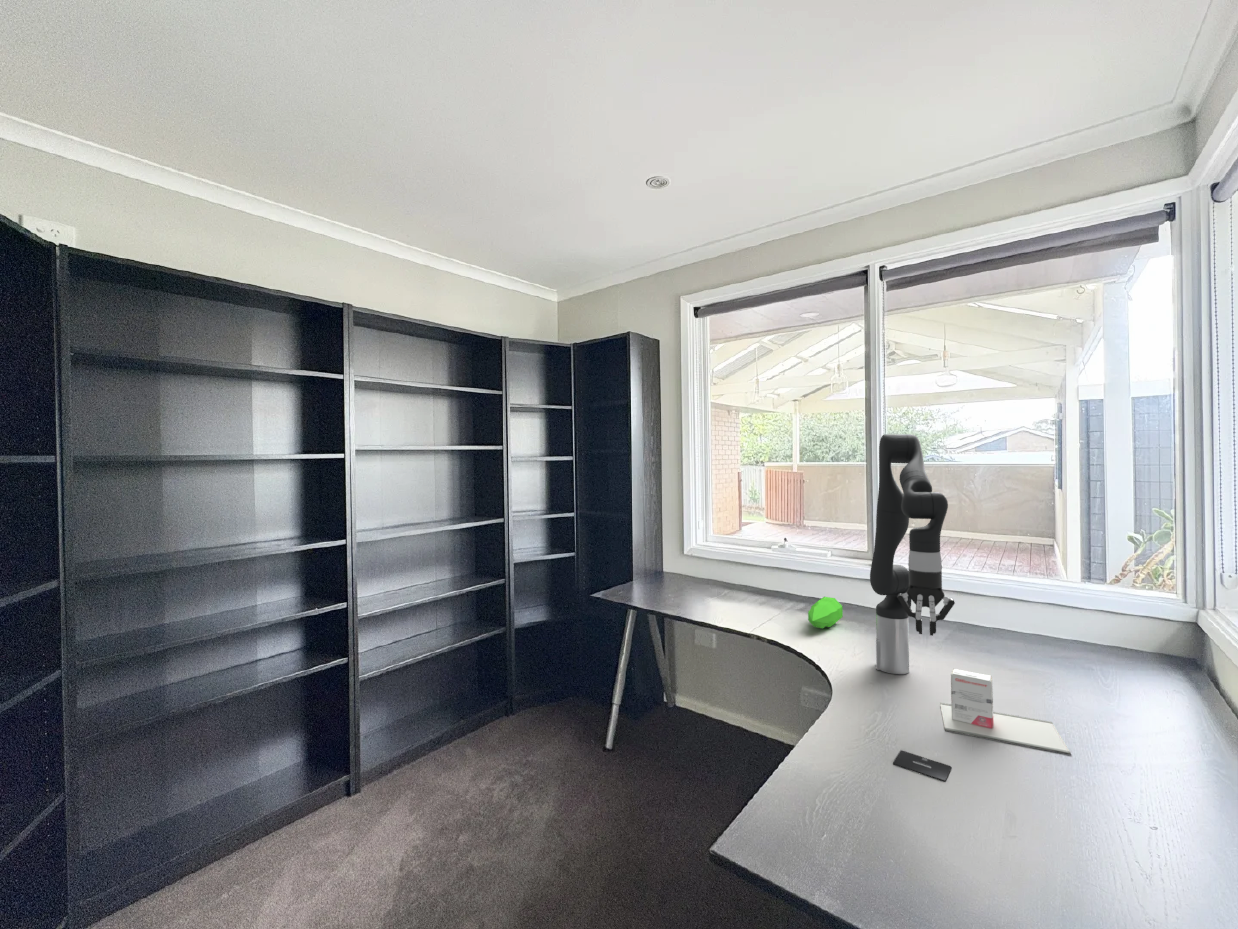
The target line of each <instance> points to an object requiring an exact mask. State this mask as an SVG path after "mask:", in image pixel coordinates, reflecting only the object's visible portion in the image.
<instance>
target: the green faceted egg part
mask: <svg viewBox="0 0 1238 929" xmlns="http://www.w3.org/2000/svg"><path fill="white" fill-rule="evenodd" d="M843 610H844V609H843V605H842V604H841V603H840V602H839V601H838V600H837V599H836V598H835V597H829V596H822V598H820V599H818V600H817V601H816V602H815V603H813V604H812V605H811V606H810V609H809V610H808V612H807V614H808V615H807V616H808V617H807V620H808V621H809V623H810V624H811V625H812V626H813V628H817V629H824V628H828V627H830V628H831V627H833V625H835V624H836V623H838V622H839V621H840V620H841V619H842V618H843V612H844V611H843ZM825 626H826V627H825Z"/></svg>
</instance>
